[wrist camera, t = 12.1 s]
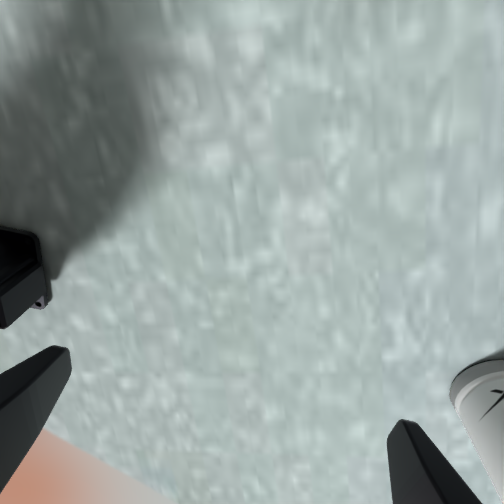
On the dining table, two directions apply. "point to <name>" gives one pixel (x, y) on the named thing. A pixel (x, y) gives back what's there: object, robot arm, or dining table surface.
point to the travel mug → (483, 415)
